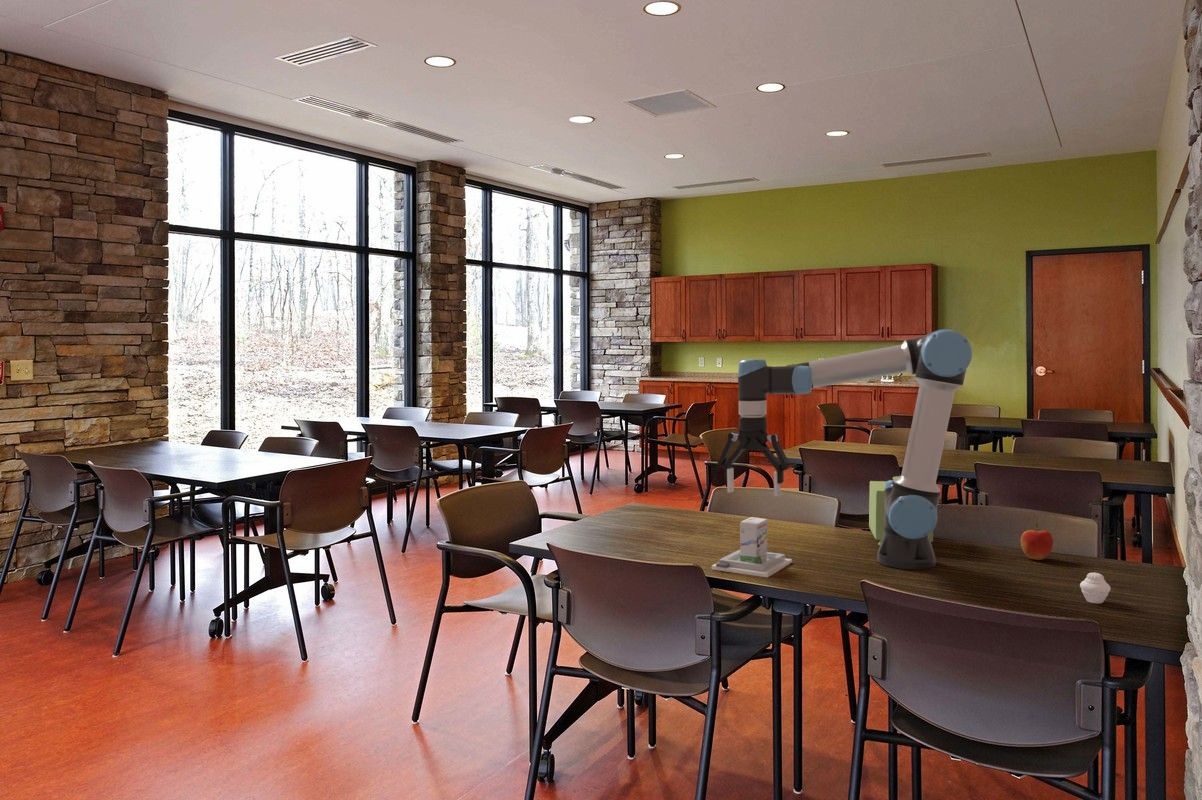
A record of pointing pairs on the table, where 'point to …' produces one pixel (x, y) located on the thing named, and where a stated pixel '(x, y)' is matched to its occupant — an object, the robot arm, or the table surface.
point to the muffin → (1095, 588)
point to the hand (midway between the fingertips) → (753, 493)
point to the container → (879, 509)
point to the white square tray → (752, 564)
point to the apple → (1036, 544)
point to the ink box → (753, 540)
